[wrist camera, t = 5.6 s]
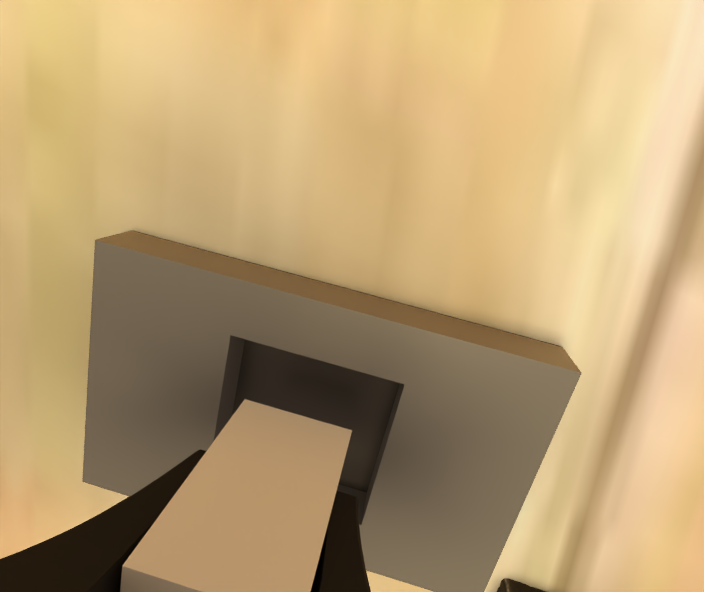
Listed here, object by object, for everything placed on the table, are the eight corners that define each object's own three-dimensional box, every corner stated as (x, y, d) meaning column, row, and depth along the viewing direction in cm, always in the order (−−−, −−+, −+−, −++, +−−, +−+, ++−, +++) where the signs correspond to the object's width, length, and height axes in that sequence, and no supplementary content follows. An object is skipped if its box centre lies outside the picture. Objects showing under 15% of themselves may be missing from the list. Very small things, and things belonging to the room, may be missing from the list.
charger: (229, 486, 15) (106, 697, 9) (244, 399, 14) (117, 573, 8) (328, 517, 15) (267, 752, 9) (352, 430, 14) (299, 633, 8)
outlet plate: (114, 450, 20) (82, 481, 18) (131, 230, 17) (95, 239, 15) (472, 560, 19) (478, 605, 17) (562, 347, 16) (581, 372, 14)
